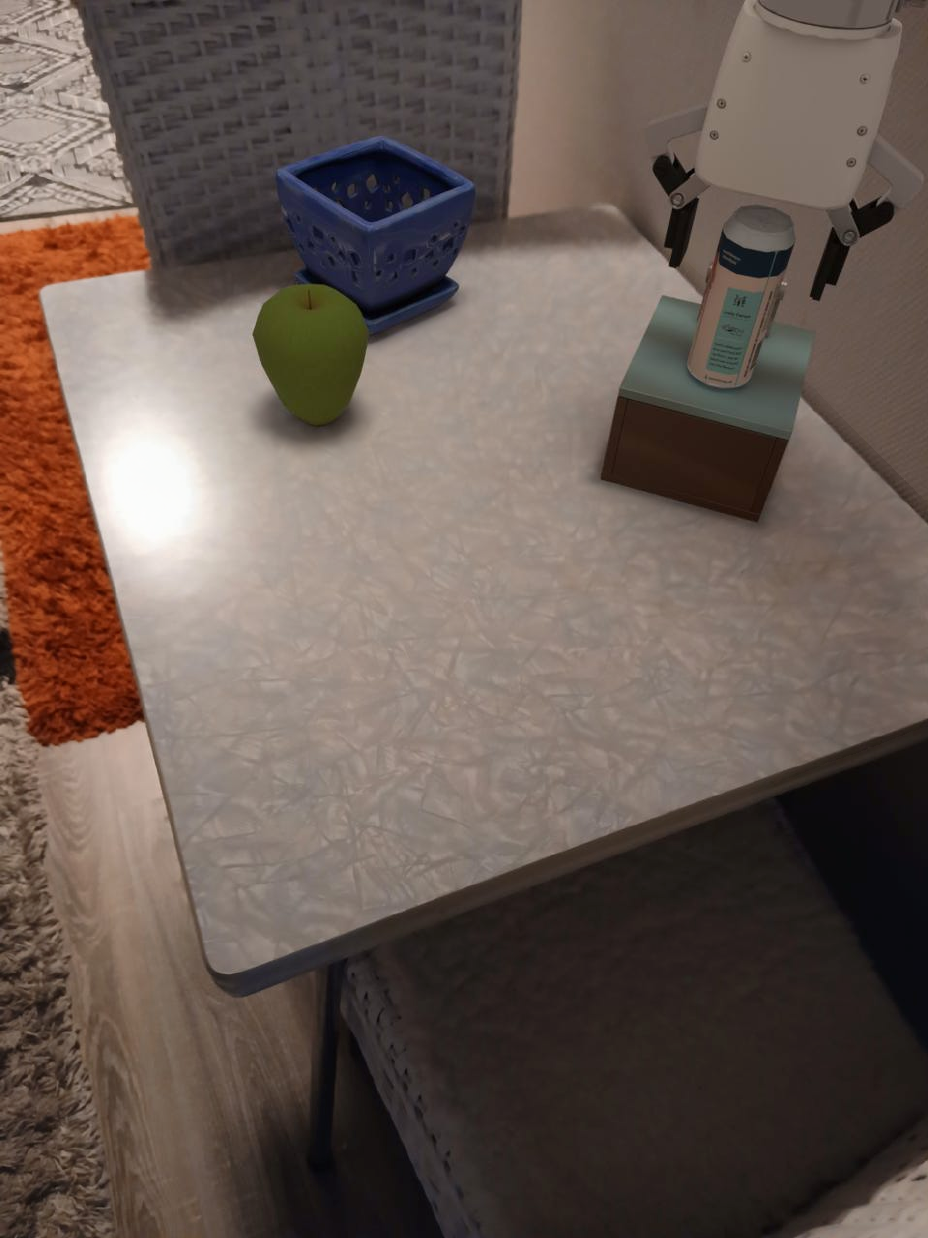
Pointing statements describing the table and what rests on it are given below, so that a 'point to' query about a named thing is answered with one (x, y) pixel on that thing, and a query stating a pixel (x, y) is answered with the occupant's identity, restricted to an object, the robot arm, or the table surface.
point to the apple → (312, 349)
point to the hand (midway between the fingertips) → (746, 274)
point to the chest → (691, 458)
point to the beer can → (741, 295)
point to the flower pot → (377, 226)
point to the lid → (750, 406)
